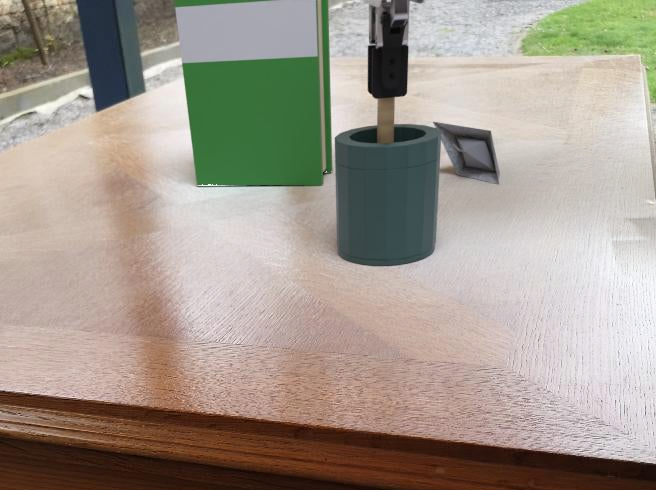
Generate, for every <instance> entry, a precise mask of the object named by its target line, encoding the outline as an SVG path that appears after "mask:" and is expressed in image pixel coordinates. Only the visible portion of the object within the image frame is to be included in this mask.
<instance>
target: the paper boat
mask: <svg viewBox="0 0 656 490" xmlns="http://www.w3.org/2000/svg"><path fill="white" fill-rule="evenodd" d="M432 123H433V127H434V128H437V129H438V130H439V131H440V132H441V144H442V145H443V147H444V150H445V151H446V154H447V156H448V157H449V160H450V162H451V165H452V166H453V168H454V171H455V173H456V176H457V175H458V176H462V177H465V178H470V179H473V180H477V181H483V182H487V183H490V184H491V183H492V184H496V185H500V174H501V173H500V172H501V171H500V168H499V164H498V163H499V162H498V158H497V154H496V148H495V144H494V139H493V135H492V130H487V129H482V128H481V129H480V128H475V127H470V126H463V125H456V124H450V123H444V122H438V121H432Z"/></svg>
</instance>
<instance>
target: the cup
mask: <svg viewBox="0 0 656 490" xmlns="http://www.w3.org/2000/svg"><path fill="white" fill-rule="evenodd" d="M441 148H442V141H441V132H440V131H439V130H438V129H437V128H435V126H428V125H425V124H414V123H413V124H412V123H394V143H377V124H375V125H367V126H361V127H356V128H351V129H349V130H345V131H341V132H339V133H338V134H337V135H336V136H335V137H334V166H335V167H334V171H335V173H334V174H335V175H334V176H335V211H336V212H335V213H336V215H335V216H336V218H335V219H336V245H337V254H338V256H339V257H341V258H342V259H344V260H346V261H348V262H351V263H353V264H359V265H364V266H380V267H381V266H399V265H405V264H410V263H415V262H417V261H420V260H424V259H425V258H427V257H429V256H431V255H432V254H433V253H434V251H435V249H436V243H437V229H438V228H437V227H438V207H439V187H440V171H441V170H440V169H441V150H442V149H441Z"/></svg>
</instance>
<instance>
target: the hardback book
mask: <svg viewBox="0 0 656 490" xmlns="http://www.w3.org/2000/svg"><path fill="white" fill-rule="evenodd" d="M173 2H174V10H175V17H176V27H177V33H178V42H179V49H180V58H181V65H182V66H181V67H182V74H183V84H184V90H185V100H186V108H187V115H188V123H189V124H188V125H189V131H190V132H189V133H190V141H191V148H192V149H191V150H192V157H193V164H194V173H195V179H196V180H195V181H196V186H197V185H202V184H203V185H208V184H211V185H212V184H213V185H216V184H217V185H238V186H237V187H247V186H246V185H304V186H303V187H313V185H314V187H318V186H319V185H322V184H323V185H324V173H323V172H326V171H327V172H331V171H332V172H333V139H332V138H333V137H332V135H333V134H332V103H331V102H332V99H331V96H332V95H331V57H330V56H331V55H330V52H331V51H330V18H329V17H330V16H329V15H330V14H329V0H173ZM240 185H241V186H240ZM316 185H318V186H316ZM323 185H322V186H323ZM319 187H320V186H319Z"/></svg>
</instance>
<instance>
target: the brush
mask: <svg viewBox="0 0 656 490" xmlns="http://www.w3.org/2000/svg"><path fill="white" fill-rule="evenodd" d="M395 104H396V97H392V98H380V99H377V108H376V109H377V113H376V115H377V117H376V120H377V122H376V125H377V143H394V124H395V108H396V107H395V106H396V105H395Z"/></svg>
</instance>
